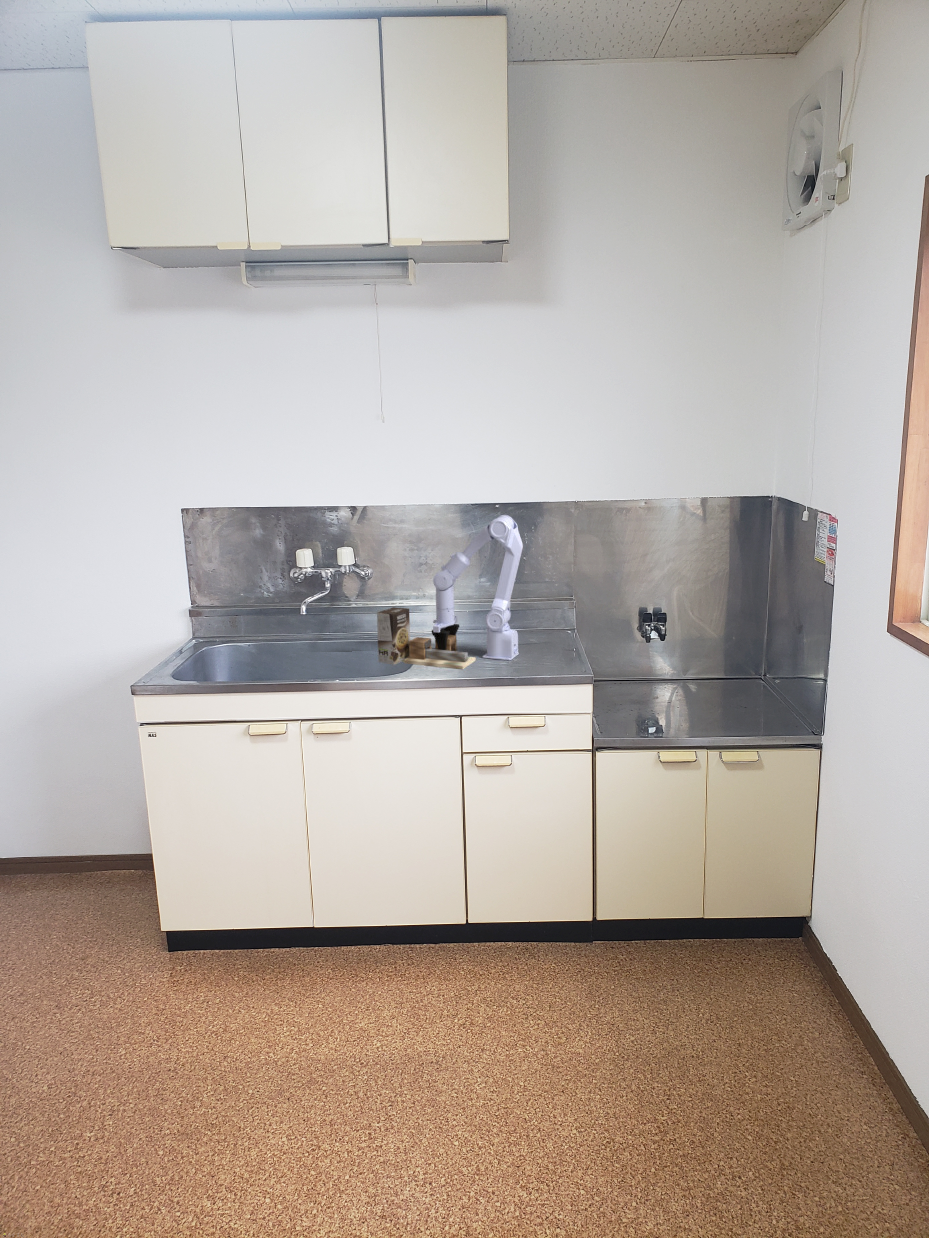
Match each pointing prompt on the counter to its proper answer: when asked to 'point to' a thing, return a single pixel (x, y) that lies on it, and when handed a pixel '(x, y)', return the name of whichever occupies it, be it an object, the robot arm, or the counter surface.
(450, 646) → the forked wooden block
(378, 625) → the coffee box
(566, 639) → the counter surface
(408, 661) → the rail board
